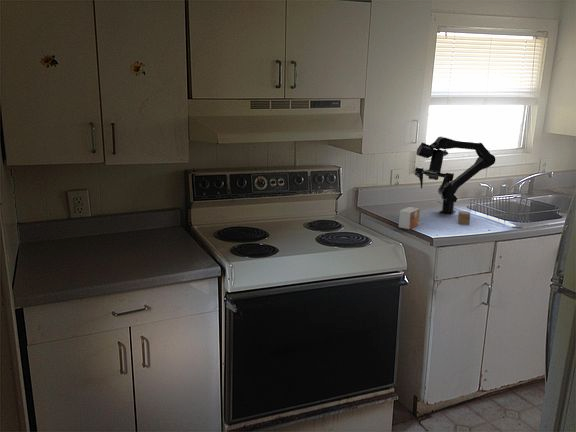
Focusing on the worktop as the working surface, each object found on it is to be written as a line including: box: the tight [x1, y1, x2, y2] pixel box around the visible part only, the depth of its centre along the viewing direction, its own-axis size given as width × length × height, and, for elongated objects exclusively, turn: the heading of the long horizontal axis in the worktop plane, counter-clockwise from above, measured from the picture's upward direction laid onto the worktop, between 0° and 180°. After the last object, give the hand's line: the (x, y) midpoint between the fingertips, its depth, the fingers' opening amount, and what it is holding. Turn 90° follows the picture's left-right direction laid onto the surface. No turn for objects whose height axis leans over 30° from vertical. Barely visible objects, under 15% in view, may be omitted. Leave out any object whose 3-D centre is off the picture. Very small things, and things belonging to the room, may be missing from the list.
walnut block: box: [457, 210, 471, 225], centre depth 258 cm, size 5×5×5 cm
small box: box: [397, 206, 421, 230], centre depth 249 cm, size 8×6×10 cm
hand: (430, 190), depth 267 cm, fingers open, 9 cm apart
